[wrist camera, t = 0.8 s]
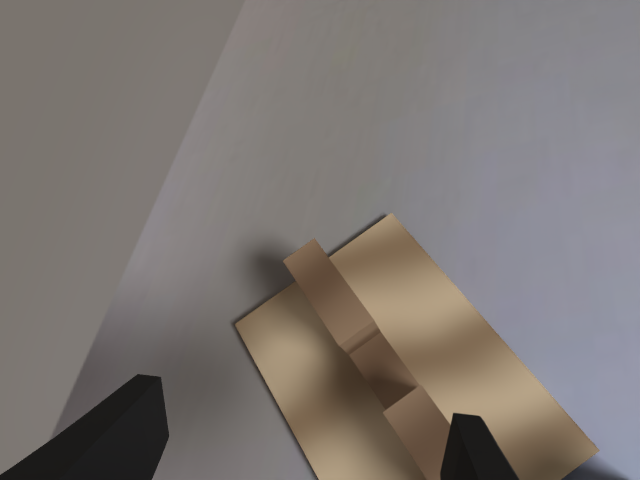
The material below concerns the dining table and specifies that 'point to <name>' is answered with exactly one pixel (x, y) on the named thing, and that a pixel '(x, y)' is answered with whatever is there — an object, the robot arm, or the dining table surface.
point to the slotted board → (397, 367)
